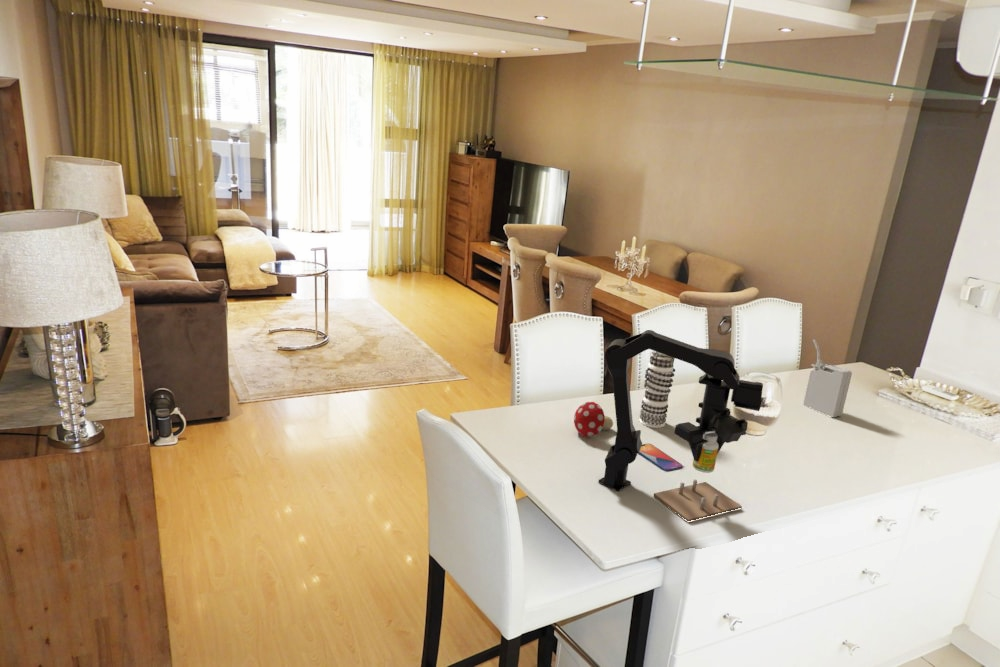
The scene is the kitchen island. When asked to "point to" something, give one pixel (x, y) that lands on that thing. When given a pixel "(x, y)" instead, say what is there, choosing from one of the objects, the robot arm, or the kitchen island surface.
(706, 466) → the supplement bottle
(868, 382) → the kitchen island surface
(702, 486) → the pin tray
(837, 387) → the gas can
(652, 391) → the decorative candle
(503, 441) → the kitchen island surface
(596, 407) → the decorative mushroom
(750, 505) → the kitchen island surface
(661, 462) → the smartphone
